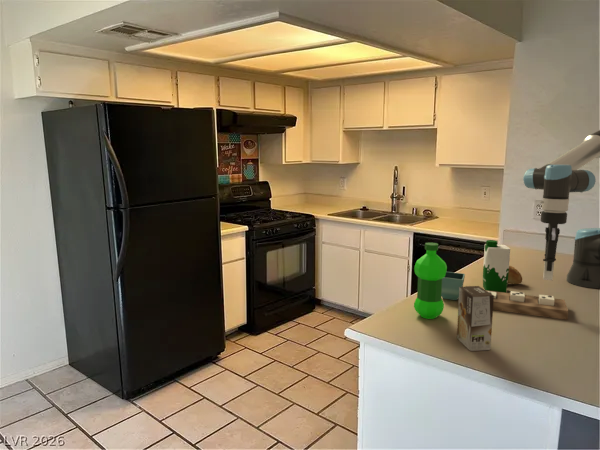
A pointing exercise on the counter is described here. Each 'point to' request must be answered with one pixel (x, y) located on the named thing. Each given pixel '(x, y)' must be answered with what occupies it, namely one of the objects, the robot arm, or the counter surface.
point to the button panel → (530, 306)
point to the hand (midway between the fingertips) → (547, 279)
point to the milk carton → (495, 266)
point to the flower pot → (452, 285)
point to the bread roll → (514, 276)
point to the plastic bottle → (430, 283)
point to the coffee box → (475, 318)
